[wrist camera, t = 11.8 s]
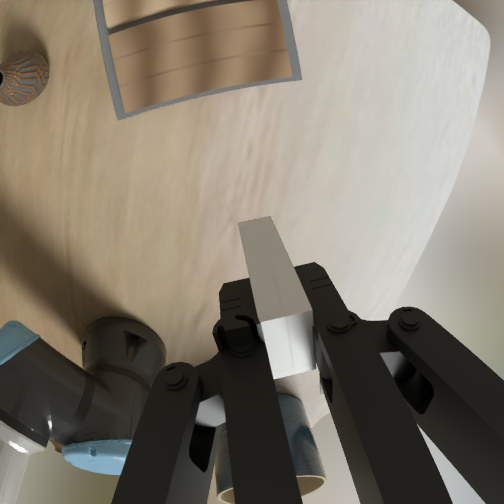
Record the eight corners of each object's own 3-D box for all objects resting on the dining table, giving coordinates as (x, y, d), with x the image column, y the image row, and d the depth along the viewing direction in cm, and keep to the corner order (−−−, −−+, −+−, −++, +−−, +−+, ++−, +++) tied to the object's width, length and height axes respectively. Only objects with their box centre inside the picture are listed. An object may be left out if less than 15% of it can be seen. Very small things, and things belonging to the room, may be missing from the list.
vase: (65, 78, 28) (29, 79, 20) (28, 113, 29) (-10, 124, 21) (43, 41, 24) (6, 35, 17) (8, 77, 25) (-31, 81, 18)
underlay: (118, 120, 32) (118, 120, 31) (91, -24, 21) (90, -25, 21) (301, 79, 32) (302, 79, 32) (269, -63, 22) (270, -65, 21)
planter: (310, 423, 70) (330, 490, 53) (229, 443, 71) (236, 509, 53) (297, 379, 59) (322, 465, 42) (195, 404, 59) (198, 489, 42)
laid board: (128, 112, 31) (125, 113, 30) (112, 37, 26) (108, 35, 25) (289, 77, 32) (292, 76, 30) (274, 1, 27) (276, -2, 25)
